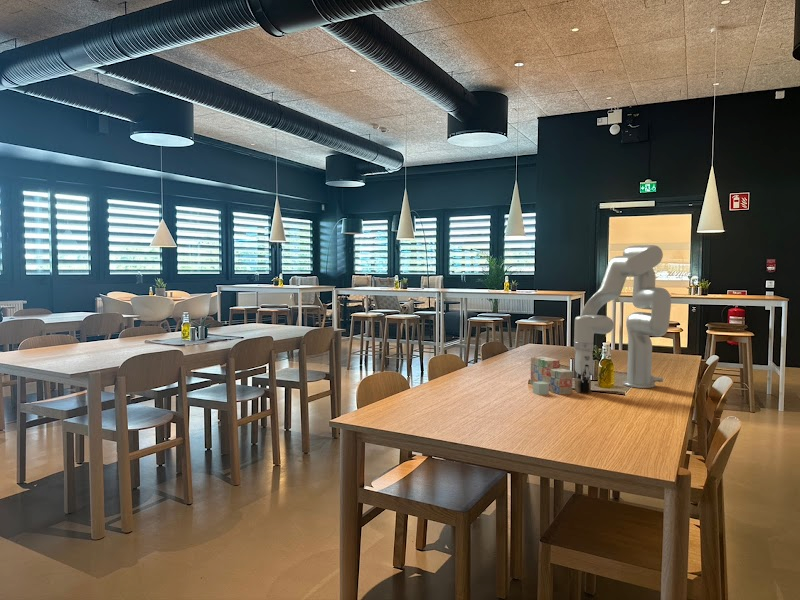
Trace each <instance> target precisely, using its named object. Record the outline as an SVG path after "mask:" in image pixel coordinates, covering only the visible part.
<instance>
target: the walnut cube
mask: <svg viewBox="0 0 800 600" xmlns="http://www.w3.org/2000/svg"><path fill="white" fill-rule="evenodd" d="M583 379H584V378H583ZM591 382H592V381H591V380H590V379H589V392H588V393H587V394H591V391H592V390H591V386H592V385H591V384H592V383H591ZM580 384H581V378H577V377H575V378H574V391H575V392H576V393H578V394H582V393H581V392H580Z"/></svg>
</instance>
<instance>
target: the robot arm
mask: <svg viewBox="0 0 800 600" xmlns="http://www.w3.org/2000/svg"><path fill="white" fill-rule="evenodd" d="M663 256H664V253H663V250H662V248H661V247H660V246H657V245H654V244H646V245H643V244H642V245H641V244H640V245H631V246H628V247H625V249H624V250H623V251H622V255H618V256H615V257H612V258H611V259H610V260H609V262H608V264H607V266H606V270H605V272H604V276H603V278H602V281H601V284H600V286H599V288H598V290H597V291H596V292H595V293H593V295H592V296H591V297H590V298H589V299H588V300H587V302H586V303H585V305H584V307H583V308H582V312H581V314H580V315H578V316H576V317H575V318H574V328H573V330H574V332H573V333H574V334H573V335H574V336H573V337H574V338H573V350H574V351H575V356H574V371H575V372H576V378H581V384H580V392H581V393H580V394H589V393H588V392H589V380H590V377H591V376H593V375H594V364H593V363H594V360H593V359H594V357H593V351H594V340H595V339H594V337H595V334H600V335H607V334H609V333H611V332H612V331H613V329H614V326H615V325H614V321H613V318H611V317H610V316H607V315H601V314H598V312H599V310H600V309H601V308H602V307H603V306H604V305H606V304H607V303H610V302H611V301H614V300H616V299H618V298H619V297H620V296H621V295H622V291H623V288H624V286H625V282H626V280H627V278H628V277H631V278H633V286H632V297H631V298H632V299H631V300H632V304H633V306H634V308H637V309H639V310H640V309H642V310H649V311H650V310H651V311H650V312H645V311H644V312H643V311H634V312H632V313H630V314H629V315H628V316H627V318H626V325H625V326H626V332H627V367H626V368H627V369H626V371H627V373H626V374H627V375H626V379H624V380H623V382H622V384H623V386H626V387H630V388H639V389H652V388H655V386H656V384H655V383H656V382H658V383H663V382H664V377H660V376H659V377H658V376H654V375H652V364H653V363H652V361H653V343H652V339H651V336H652V337H660V338H661V337H663V336H664V335H666V334H667V332H668V330H669V327H670V319H671V318H670V317H671V310H672V309H671V308H672V297H671V294H670V292H669V291H668V290H667V289H666V288H663V287H658V286H657V287H656V272H655V270H654V268H655V267H657V266H658V265H659V264H660V263H661V262H662V260H663ZM583 378H584V379H583Z"/></svg>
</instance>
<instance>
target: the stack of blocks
mask: <svg viewBox="0 0 800 600" xmlns="http://www.w3.org/2000/svg"><path fill="white" fill-rule="evenodd" d="M573 375H574V372H573V371H572V370H569V369H565V368H563V367H562V368H561V367H560V360H559V359H555V358H552V357H548V356H547V357H546V356H541V355H539V356H530V385H531V386H533V382H541V381H543V382H546V383H549V392H551V393H553V394H556V395H559V396H560V395H561V396H563V395H572V394H573V377H574V376H573Z"/></svg>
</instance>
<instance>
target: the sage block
mask: <svg viewBox="0 0 800 600" xmlns="http://www.w3.org/2000/svg"><path fill="white" fill-rule="evenodd" d="M549 392H550V391H549V383H546V382H543V381H541V382H533V385H532V393H533V394H535V395H537V396H547V395H550V393H549Z"/></svg>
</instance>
